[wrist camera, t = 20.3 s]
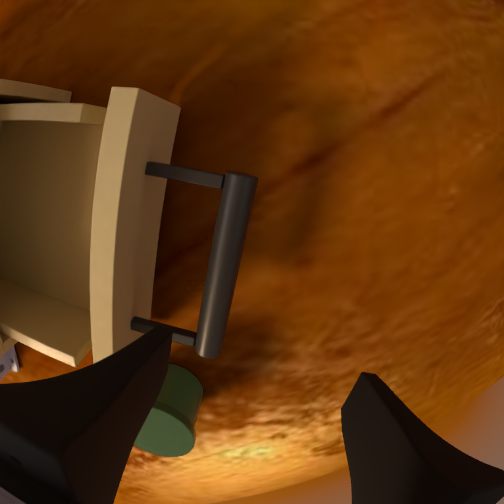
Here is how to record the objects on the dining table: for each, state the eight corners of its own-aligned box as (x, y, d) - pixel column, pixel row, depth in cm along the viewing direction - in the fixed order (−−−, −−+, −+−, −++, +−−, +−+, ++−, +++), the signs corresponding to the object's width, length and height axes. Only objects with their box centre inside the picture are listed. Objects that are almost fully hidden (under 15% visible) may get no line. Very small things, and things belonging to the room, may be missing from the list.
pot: (202, 417, 23) (191, 464, 18) (139, 400, 23) (118, 443, 18) (211, 369, 21) (198, 419, 17) (139, 350, 21) (113, 394, 16)
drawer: (272, 123, 15) (272, 106, 10) (221, 356, 20) (205, 421, 14) (10, 100, 15) (-49, 97, 10) (5, 286, 20) (-42, 317, 14)
